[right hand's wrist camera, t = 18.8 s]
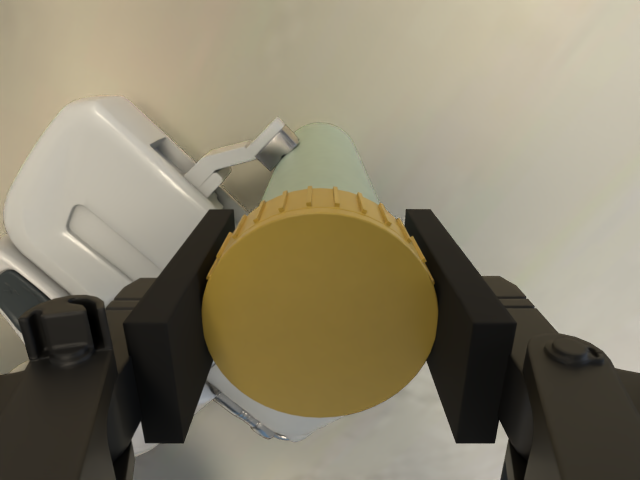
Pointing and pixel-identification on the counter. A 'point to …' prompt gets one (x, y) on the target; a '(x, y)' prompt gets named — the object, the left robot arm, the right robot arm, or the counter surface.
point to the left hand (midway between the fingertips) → (333, 175)
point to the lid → (319, 304)
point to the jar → (321, 164)
